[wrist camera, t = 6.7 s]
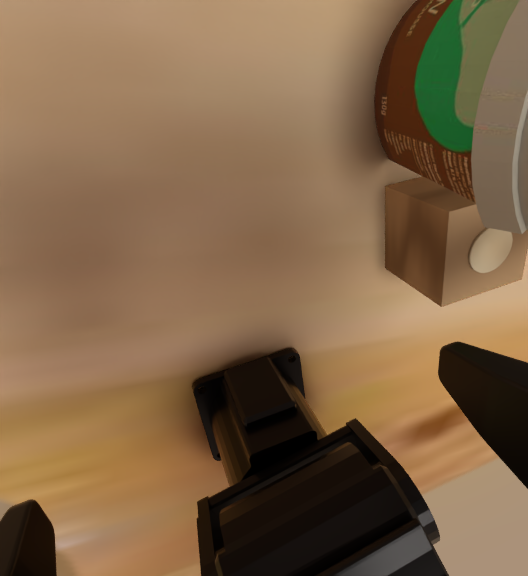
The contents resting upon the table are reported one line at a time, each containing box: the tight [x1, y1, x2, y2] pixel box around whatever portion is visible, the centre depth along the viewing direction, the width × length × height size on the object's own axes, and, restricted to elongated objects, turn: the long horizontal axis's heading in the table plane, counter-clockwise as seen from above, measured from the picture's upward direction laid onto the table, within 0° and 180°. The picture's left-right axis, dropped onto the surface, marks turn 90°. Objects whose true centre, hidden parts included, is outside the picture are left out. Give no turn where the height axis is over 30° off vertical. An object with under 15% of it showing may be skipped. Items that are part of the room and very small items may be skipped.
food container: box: [374, 0, 528, 234], centre depth 16 cm, size 12×6×10 cm, turn 131°
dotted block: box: [385, 176, 528, 307], centre depth 22 cm, size 5×5×5 cm
